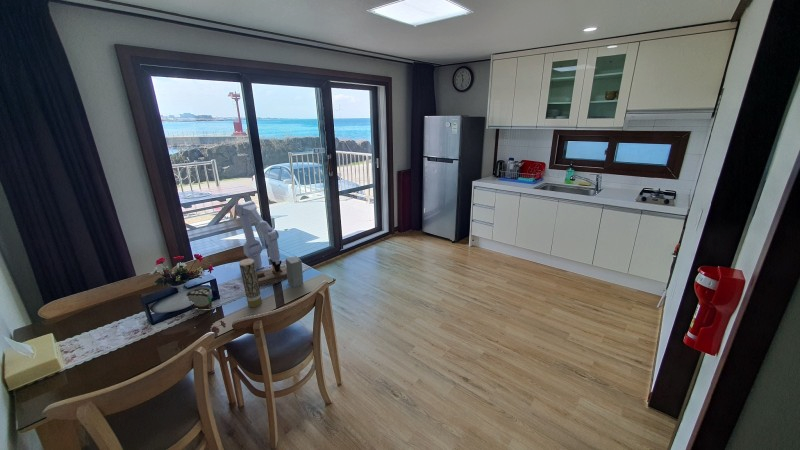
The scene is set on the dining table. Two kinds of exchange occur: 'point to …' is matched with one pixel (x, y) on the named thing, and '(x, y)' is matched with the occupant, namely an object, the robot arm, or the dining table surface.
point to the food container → (200, 298)
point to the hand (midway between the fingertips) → (276, 270)
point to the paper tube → (250, 282)
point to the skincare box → (294, 271)
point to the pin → (274, 269)
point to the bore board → (271, 275)
